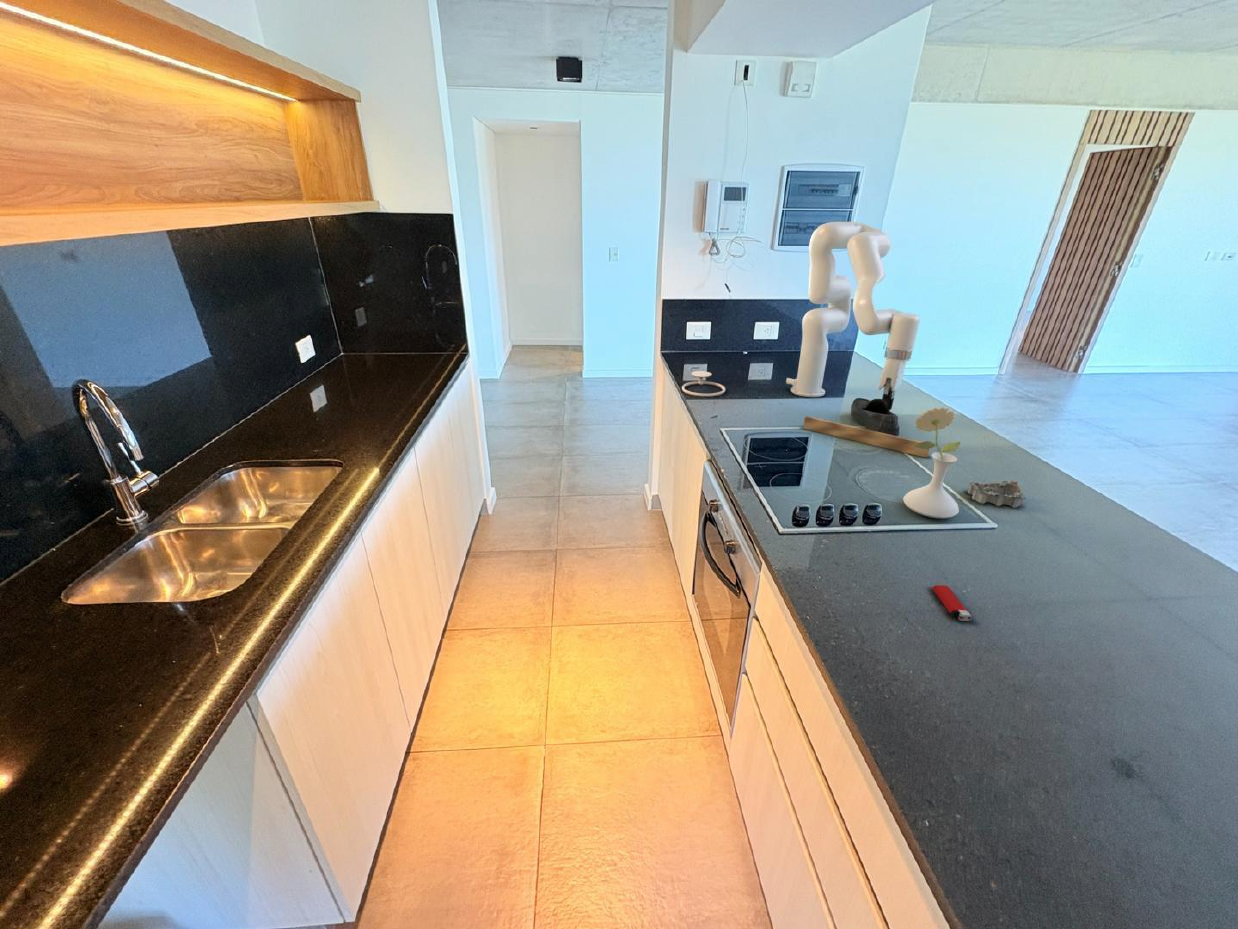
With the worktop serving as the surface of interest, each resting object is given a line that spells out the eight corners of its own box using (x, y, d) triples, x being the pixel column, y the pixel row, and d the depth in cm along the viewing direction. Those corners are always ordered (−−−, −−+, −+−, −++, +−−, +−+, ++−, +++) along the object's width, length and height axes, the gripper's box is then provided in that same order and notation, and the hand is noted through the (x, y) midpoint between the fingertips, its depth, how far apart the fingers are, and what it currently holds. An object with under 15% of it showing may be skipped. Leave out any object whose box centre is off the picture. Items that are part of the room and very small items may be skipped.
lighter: (949, 585, 96) (973, 615, 89) (947, 591, 97) (971, 621, 90) (933, 585, 97) (955, 615, 89) (932, 590, 97) (953, 620, 90)
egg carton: (1014, 496, 130) (1020, 481, 128) (1024, 510, 123) (1030, 495, 122) (965, 488, 133) (969, 474, 131) (972, 502, 127) (977, 487, 125)
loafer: (869, 412, 184) (876, 384, 179) (910, 445, 157) (919, 413, 153) (840, 412, 184) (845, 384, 179) (875, 445, 157) (883, 413, 153)
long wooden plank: (803, 428, 170) (804, 416, 168) (804, 427, 171) (806, 415, 169) (926, 457, 150) (930, 444, 148) (927, 456, 151) (931, 443, 149)
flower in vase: (954, 504, 126) (985, 404, 115) (959, 527, 116) (994, 421, 106) (893, 493, 131) (918, 396, 120) (894, 515, 121) (920, 412, 111)
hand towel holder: (684, 386, 197) (679, 371, 215) (683, 397, 199) (678, 381, 217) (729, 385, 197) (720, 370, 215) (728, 397, 199) (720, 381, 217)
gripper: (891, 348, 174) (879, 401, 182) (878, 356, 163) (867, 412, 171) (916, 351, 170) (903, 405, 177) (905, 360, 159) (891, 417, 167)
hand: (885, 409), depth 174 cm, fingers closed
